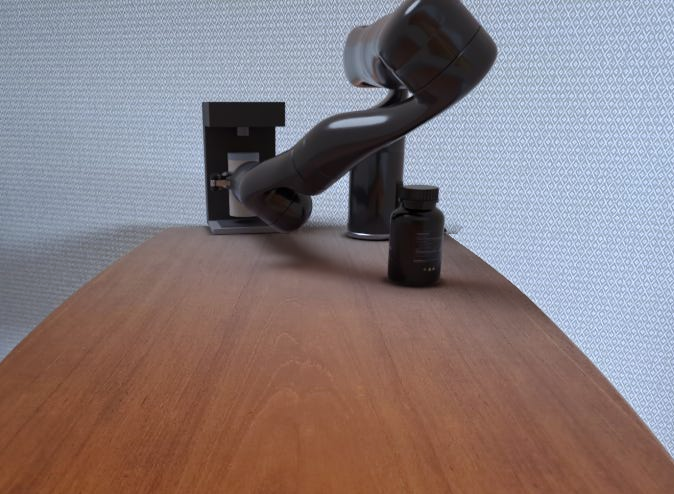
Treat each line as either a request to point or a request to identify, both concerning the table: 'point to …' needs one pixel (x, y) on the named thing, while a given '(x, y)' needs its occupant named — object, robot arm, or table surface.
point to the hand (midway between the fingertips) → (242, 177)
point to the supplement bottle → (416, 237)
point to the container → (233, 162)
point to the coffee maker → (236, 136)
